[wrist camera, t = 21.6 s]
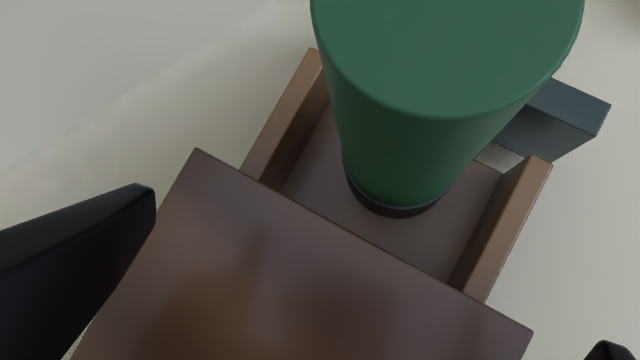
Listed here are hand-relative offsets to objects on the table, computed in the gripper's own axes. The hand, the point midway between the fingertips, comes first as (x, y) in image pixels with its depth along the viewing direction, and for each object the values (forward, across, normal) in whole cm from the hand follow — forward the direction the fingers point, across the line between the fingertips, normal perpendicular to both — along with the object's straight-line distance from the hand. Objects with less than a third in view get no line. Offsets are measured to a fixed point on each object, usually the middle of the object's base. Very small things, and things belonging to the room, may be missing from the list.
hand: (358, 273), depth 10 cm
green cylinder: (+10, 0, +4) cm, 11 cm away
